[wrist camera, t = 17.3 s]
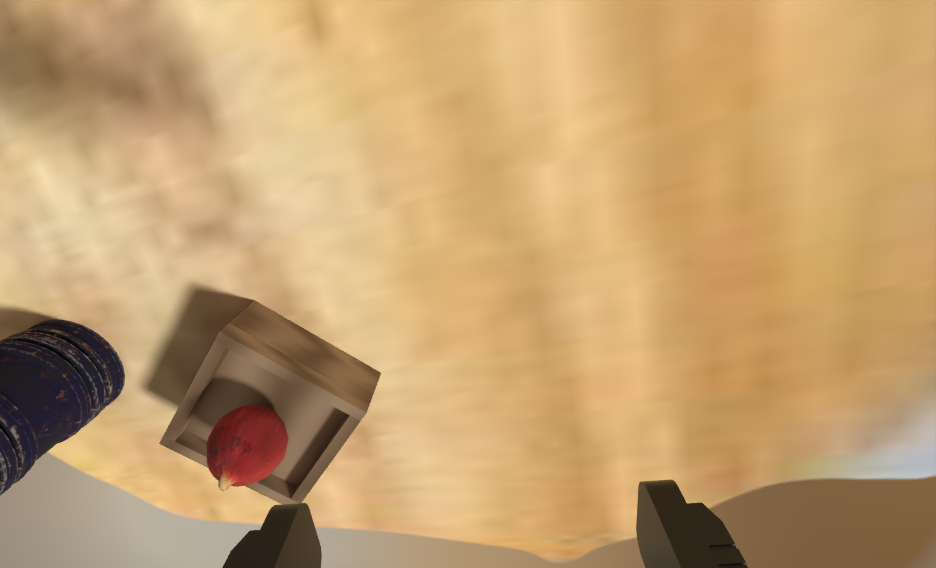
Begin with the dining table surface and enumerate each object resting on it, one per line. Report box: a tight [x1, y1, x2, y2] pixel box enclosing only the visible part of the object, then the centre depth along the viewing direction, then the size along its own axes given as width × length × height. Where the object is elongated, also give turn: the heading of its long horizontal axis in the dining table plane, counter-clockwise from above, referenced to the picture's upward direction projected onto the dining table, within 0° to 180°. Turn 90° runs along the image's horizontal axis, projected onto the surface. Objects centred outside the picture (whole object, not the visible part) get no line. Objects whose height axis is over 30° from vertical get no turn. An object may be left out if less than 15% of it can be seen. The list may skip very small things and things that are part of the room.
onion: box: [206, 405, 289, 491], centre depth 37 cm, size 6×6×8 cm
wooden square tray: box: [159, 300, 381, 505], centre depth 43 cm, size 13×13×6 cm
